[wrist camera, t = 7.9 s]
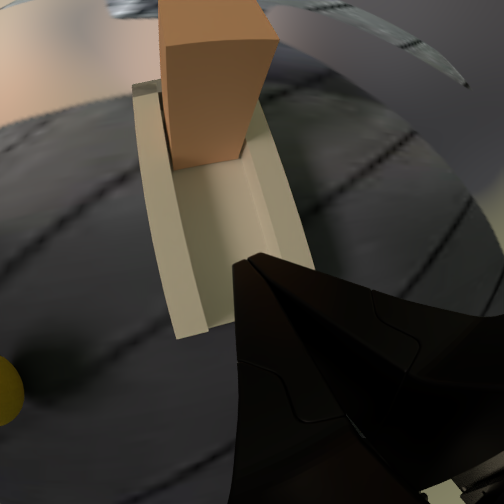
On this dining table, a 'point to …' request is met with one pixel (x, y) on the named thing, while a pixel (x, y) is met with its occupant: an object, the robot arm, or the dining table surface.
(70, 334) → the dining table surface
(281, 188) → the chute
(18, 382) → the lemon
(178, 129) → the block
